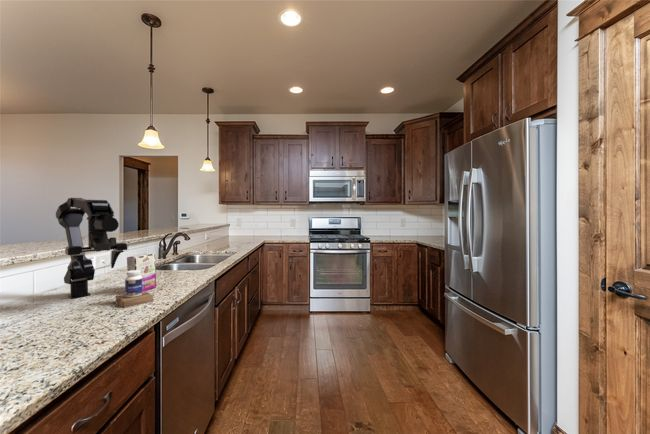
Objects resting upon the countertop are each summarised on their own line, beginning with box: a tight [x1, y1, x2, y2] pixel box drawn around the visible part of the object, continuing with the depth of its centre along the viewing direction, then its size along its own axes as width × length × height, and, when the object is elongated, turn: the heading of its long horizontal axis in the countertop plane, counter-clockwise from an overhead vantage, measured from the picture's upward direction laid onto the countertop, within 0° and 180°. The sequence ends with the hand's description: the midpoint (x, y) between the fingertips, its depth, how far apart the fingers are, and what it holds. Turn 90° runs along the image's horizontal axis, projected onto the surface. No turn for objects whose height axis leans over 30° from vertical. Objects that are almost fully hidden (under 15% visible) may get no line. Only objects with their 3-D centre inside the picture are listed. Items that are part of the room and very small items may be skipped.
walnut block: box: [115, 291, 154, 309], centre depth 113 cm, size 10×10×2 cm
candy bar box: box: [126, 252, 157, 292], centre depth 129 cm, size 11×5×16 cm, turn 168°
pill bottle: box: [124, 270, 142, 297], centre depth 113 cm, size 6×6×10 cm
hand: (98, 269), depth 112 cm, fingers open, 9 cm apart
